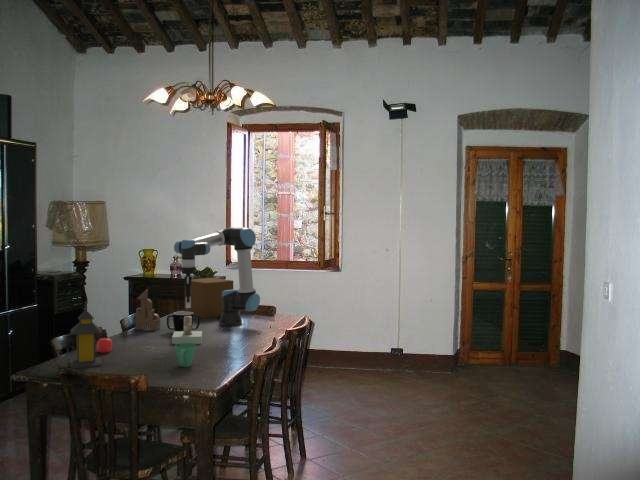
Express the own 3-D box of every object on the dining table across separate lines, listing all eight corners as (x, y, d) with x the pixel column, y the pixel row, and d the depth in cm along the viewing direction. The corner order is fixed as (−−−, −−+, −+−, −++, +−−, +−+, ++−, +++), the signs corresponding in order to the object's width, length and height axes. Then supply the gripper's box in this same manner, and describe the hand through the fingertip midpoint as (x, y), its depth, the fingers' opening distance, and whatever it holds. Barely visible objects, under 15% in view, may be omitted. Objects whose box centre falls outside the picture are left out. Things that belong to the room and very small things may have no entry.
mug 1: (177, 336, 358) (177, 316, 357) (164, 331, 370) (164, 312, 369) (201, 333, 369) (201, 313, 368) (188, 328, 381) (188, 310, 380)
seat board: (202, 337, 354) (202, 331, 354) (201, 343, 339) (201, 336, 338) (174, 338, 352) (174, 331, 352) (171, 344, 336) (172, 337, 336)
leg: (191, 340, 348) (192, 316, 347) (191, 341, 343) (191, 317, 343) (183, 340, 347) (184, 316, 346) (183, 341, 343) (183, 317, 342)
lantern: (70, 368, 280) (70, 304, 279) (69, 361, 293) (69, 300, 292) (102, 366, 286) (102, 303, 285) (100, 359, 299) (100, 299, 298)
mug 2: (177, 363, 294) (177, 342, 294) (197, 363, 295) (197, 343, 294) (170, 370, 280) (170, 349, 279) (192, 371, 280) (192, 349, 280)
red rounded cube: (96, 350, 317) (96, 335, 317) (112, 349, 320) (112, 334, 320) (96, 354, 310) (96, 338, 309) (113, 353, 313) (113, 337, 313)
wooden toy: (160, 328, 379) (161, 289, 378) (156, 330, 373) (156, 290, 372) (137, 327, 382) (137, 288, 381) (132, 329, 375) (132, 289, 374)
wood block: (184, 314, 435) (184, 279, 434) (212, 310, 453) (212, 277, 452) (205, 318, 418) (205, 283, 417) (233, 314, 436) (233, 280, 435)
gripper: (182, 265, 349) (182, 306, 351) (180, 267, 336) (180, 309, 338) (195, 265, 350) (195, 305, 352) (194, 267, 338) (194, 309, 339)
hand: (188, 307), depth 345 cm, fingers closed
